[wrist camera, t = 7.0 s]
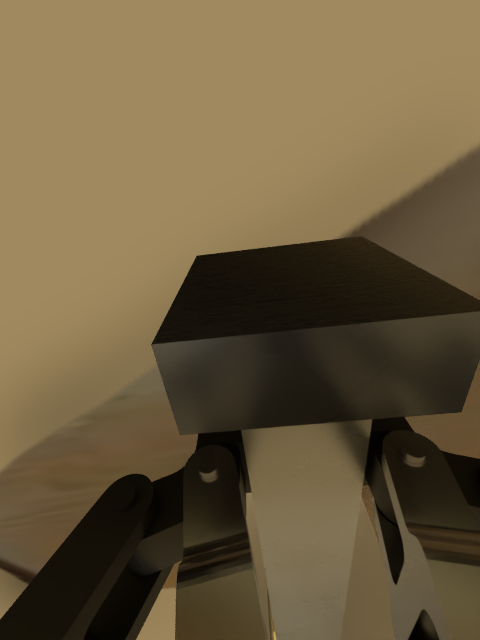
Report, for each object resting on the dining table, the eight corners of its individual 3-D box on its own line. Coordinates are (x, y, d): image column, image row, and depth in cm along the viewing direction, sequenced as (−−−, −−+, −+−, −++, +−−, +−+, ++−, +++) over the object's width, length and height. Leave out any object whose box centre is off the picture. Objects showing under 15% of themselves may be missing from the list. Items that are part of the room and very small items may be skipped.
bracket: (202, 443, 24) (147, 840, 10) (357, 431, 23) (542, 842, 9) (225, 530, 30) (213, 842, 16) (347, 522, 30) (445, 843, 16)
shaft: (196, 255, 9) (151, 344, 4) (361, 236, 8) (497, 309, 4) (261, 588, 20) (267, 707, 15) (332, 585, 20) (359, 705, 15)
